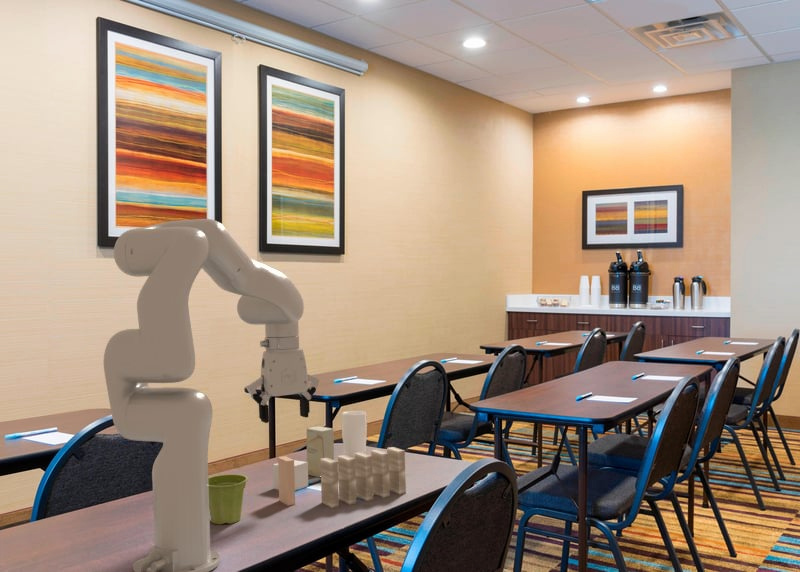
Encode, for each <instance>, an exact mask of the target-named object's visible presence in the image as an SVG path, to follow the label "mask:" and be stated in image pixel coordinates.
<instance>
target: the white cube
mask: <svg viewBox="0 0 800 572" xmlns="http://www.w3.org/2000/svg"><path fill="white" fill-rule="evenodd" d="M293 460H294V475H295V492H296V491H298V490H301V489H304V488H308V487H309V475H308V462H307V461H303V460H302V461H301V460H296V459H293ZM272 477H273V479H272V480H273V490H277V491H279V476H278V462H277V463H274V464H272Z"/></svg>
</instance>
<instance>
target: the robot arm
mask: <svg viewBox="0 0 800 572" xmlns="http://www.w3.org/2000/svg"><path fill="white" fill-rule="evenodd" d="M113 258H114V261H115V263H116V266H117V268H118V269H119V270H120V271H121V272H123V274H126V275H128V276H131V277H138V278H139V277H141V278H143V277H147V279H146V280H145V282H144V283H143V285H142V287H141V289H140V292H139V294H138V296H137V302H136V310H137V321H138V328H130V329H128V328H127V329H123V330H120V331H118V332H116V333H115V334H114V335H112V336H111V337H110V339H109V340H108V342H107V343H106V346H105V348H104V353H103V371H104V379H105V383H106V384H105V385H106V389H107V395H108V396H107V397H108V401H109V406H110V407H109V408H110V413H111V418H112V422H113V425H114V427H115V430H116V431H117V432H118V434H119V435H120V436H121V437H123V438H124V439H127V440H129V441H135V442H136V441H140V442H141V441H142V442H157V443H162V447H161V449H160V451H159V453H158V455H157V457H156V458H155V460H154V462H153V465H152V472H151V478H152V479H151V481H152V504H153V505H152V510H153V512H152V513H153V538H154V539H153V541H154V543H153V544H154V545H153V546H151V547H149V554H147V556H146V557H142V558H141V559H138V560H136V561H135V562H133V564H132V568H133V570H134V572H144V571H145V572H211V571H213V570H214V569H215V568H217V567H218V566H219V564H220V563H221V562H220V560H221V558H220V554H219V553H218V552H217V551H216V550H213V549H211V528H210V527H211V524H210V523H211V522H210V520H211V518H210V510H209V485H208V478H209V442H210V440H209V439H210V433H211V427H212V420H213V406H212V402H211V400H210V398H209V396H207V395H206V393H204V392H202V391H200V390H198V389H196V388H195V389H194V388H190V387H167V386H165V387H163V386H162V387H149V384H172V383H173V384H174V383H180V382H184V381H186V380H188V379H189V378H190V377H191V376H192V375H193V373H194V371H195V368H196V353H195V352H196V351H195V345H194V338H193V331H192V325H191V319H190V318H191V317H190V310H189V308H190V307H189V299H190V298H189V297H190V293H191V290H192V287H193V285H194V282H195V280H196V278H197V276H198V275H199V273H200V271H201V270H203V271H204V272H205V274H207V275H208V276H209V277H210V278H211V280H212V281H213V282H214V283H215V284H216V286H218V287H219V288H220V289H221V290H223V291H226V292H227V293H232V294H235V295H238V296H240V297H239V299H238V301H237V306H236V310H237V314H238V316H239V318H240V319H241V320H242V322H244V323H246V324H249V325H259V326H260V325H261V326H262V325H264V328H265V331H264V332H265V337H264V340H260V341H259V346H260V348H261V347H262V348H264V349H265V350H264V351H263V353H262V357H261V365H260V377H259V378H258V379H256V380H255V381H253V382H251V383H249V384H248V385H247V386H246V389H247V392H248V394H249V395H250V397H251V398H252V399H253V400H254V401H255V403H257V405H258V417H259V419H260V421H261V422H262V423H265V424H268V423H269V422H270V411H269V410H270V409H269V408H270V407H269V406H270V405H268V404H267V403H268V402H269V400H270V398H272V397H281V396H289V395H299V396H300V397H301V398H299V416H301V417H303V418H305V419H306V418H309V414H310V412H311V410H310V400H311V399H312V397H313V395H314V394H315V393H316V391H317V387H319V386H318V385H319V384H320V379H318V377H317V378H316V377H315V376H313V375H310V374H308V369H307V361H306V359H305V353H304V350H303V349H302V348H300V336H299V333H300V331H299V330H300V329H299V321H300V320H301V318H302V317H303V315H304V309H305V306H304V300H303V298H302V294H301V293H300V291H299V290H298V288H297V286H296V285H295V284H294V283H293V281H292V280H291V279H290V278H289V277H288V276H286V275H285V274H283V272H281V271H278V270H277V269H275V268H272V267H270V266H268V265H266V264H264V263H262V262H260V261H258V260H255V259H252V258H251V257H250V256H249V255H248V254H247V253H246V251H245V250H244V249H243V247H242V246H241V245H240V244H239V243H238V241H236V239H235V238H234V237H233V235H232V234H231V233H230V232H229V230H227V227H225V226H224V224H223V223H221V222H220V221H217V220H215V219H210V218H197V219H180V220H170V221H165V222H160V223H156V224H152V225H146V226H142V227H138V228H133V229H128V230H126V231H124V232H123V233H122V234H120V236H118V238H117V240H116V241H115V244H114V247H113ZM309 383H310V385H309ZM259 387H260V392H261V394H260V395H259V394H258V393H257V388H259Z"/></svg>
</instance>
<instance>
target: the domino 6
mask: <svg viewBox="0 0 800 572" xmlns="http://www.w3.org/2000/svg"><path fill="white" fill-rule="evenodd" d="M386 452H387V453H389V483H390V492H393V493H395V494H398V495H403V494H406V493H407V486H406V485H407V483H406V481H407V480H406V479H407V478H406V456H405V455H406V453H405V452H406V451H405V449H401V448H398V447H395V446H391V447H390V446H389V447H387V448H386Z"/></svg>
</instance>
